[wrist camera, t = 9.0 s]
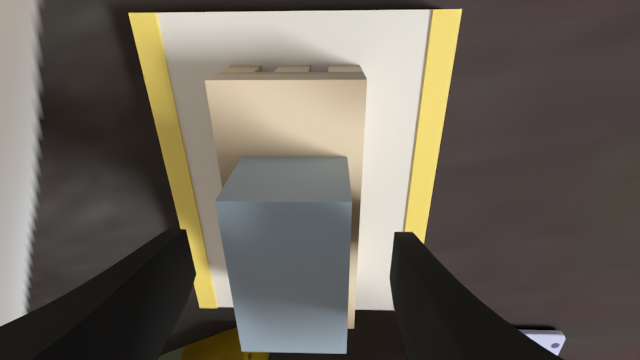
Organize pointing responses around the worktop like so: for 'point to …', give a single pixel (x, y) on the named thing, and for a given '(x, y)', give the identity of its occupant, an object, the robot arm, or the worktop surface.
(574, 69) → the worktop surface
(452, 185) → the worktop surface
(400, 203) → the dock
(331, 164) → the block
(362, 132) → the pallet
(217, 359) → the medication box
